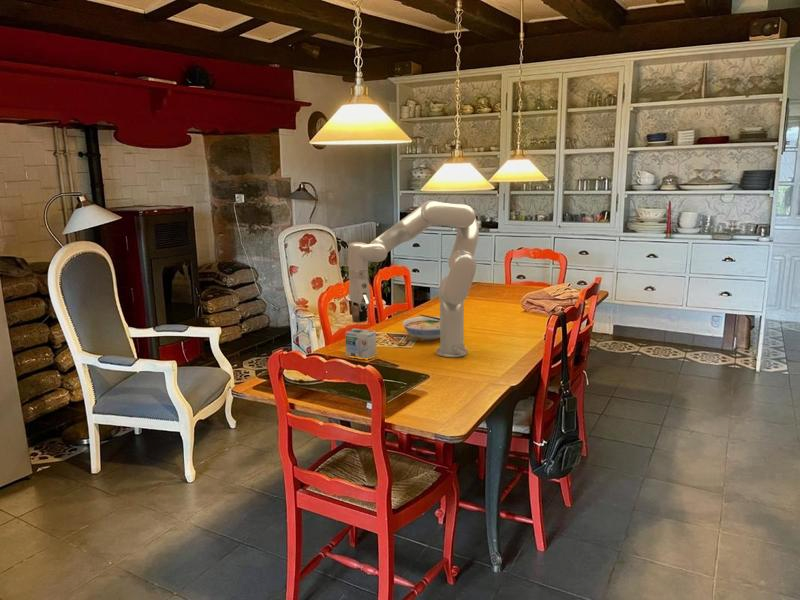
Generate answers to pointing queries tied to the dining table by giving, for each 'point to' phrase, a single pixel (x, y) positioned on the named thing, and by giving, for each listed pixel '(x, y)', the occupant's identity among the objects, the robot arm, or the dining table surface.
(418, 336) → the ramen bowl
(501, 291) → the dining table surface
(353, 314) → the walnut cylinder
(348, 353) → the light bulb box
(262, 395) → the dining table surface
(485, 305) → the dining table surface
